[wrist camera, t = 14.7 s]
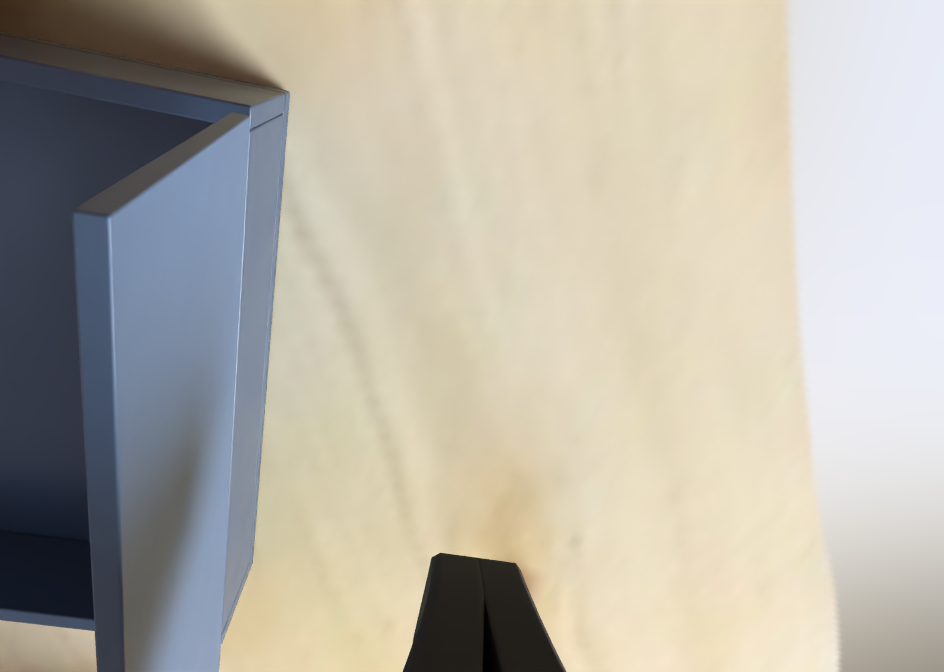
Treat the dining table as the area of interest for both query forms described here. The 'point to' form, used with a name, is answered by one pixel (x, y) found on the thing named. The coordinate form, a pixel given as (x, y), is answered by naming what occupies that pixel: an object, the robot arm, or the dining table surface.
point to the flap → (161, 397)
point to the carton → (55, 309)
